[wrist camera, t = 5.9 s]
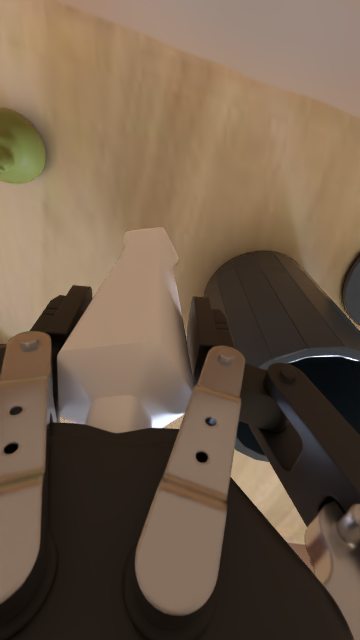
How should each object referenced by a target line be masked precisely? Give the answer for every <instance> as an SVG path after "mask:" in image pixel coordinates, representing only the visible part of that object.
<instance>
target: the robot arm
mask: <svg viewBox="0 0 360 640" xmlns="http://www.w3.org/2000/svg"><path fill="white" fill-rule="evenodd" d="M91 301H92V289H91V287H87V286H76V285H73V286H72V287H71V289H70V291H69V292H68V294H67V295H66V296H63V295H59V296H58V297H56V298H54V299H53V300H51V301H50V302H49V304H48V305H47V307H46V309H45V310H44V311H43V313H42V315H40V317H39V318H38V320H37V321H36V323H35V324H34V326H33V327H32V329H31V330H30V331H28V332H23V333H20V334H18V335H16V336H14V337H13V338H11V339H10V340H9V341H8V343H7V346H6V345H0V640H360V435H359V434H358V433H357V432H356V431H355V430H354V428H353V427H352V426H351V425H350V424H349V423H348V422H347V421H346V420H345V418H344V417H343V416H342V415H341V414H340V413H339V412H338V411H337V410H336V409H335V407H334V406H333V405H332V404H331V403H330V402H329V401H328V400H327V399H326V397H325V396H324V395H323V394H322V393H321V392H320V391H319V390H318V389H317V387H316V386H315V385H314V384H313V383H312V382H311V381H310V380H309V379H308V378H307V376H306V375H305V374H304V373H303V372H302V371H301V370H299V369H298V368H296V367H294V366H292V365H290V364H287V363H274V364H271V365H270V366H269V367H268V370H264V369H261V368H257V367H254V366H251V365H249V364H247V363H246V362H245V358H244V356H243V355H242V354H241V353H240V352H239V351H238V350H236V349H235V347H234V343H233V340H232V336H231V333H230V330H229V325H228V322H227V318H226V316H225V315H224V314H223V313H222V312H221V311H220V310H219V309H212V308H211V304H210V299H209V298H205V297H194V296H193V298H192V303H191V309H190V315H189V321H188V329H187V344H188V352H189V358H190V363H191V369H192V374H193V380H194V385H195V386H194V389H193V392H192V395H191V398H190V400H189V403H188V406H187V409H186V412H185V415H184V418H183V420H182V423H181V426H180V429H166V428H146V429H140V430H135V431H129V432H123V433H113V432H109V431H106V430H102V429H99V428H96V427H92V426H89V425H85V424H73V423H60V412H59V404H58V375H57V355H58V353H59V351H60V350H61V348H62V347H63V345H64V344H65V342H66V340H67V339H68V337H69V336H70V334H71V333H72V331H73V329H74V328H75V326H76V325H77V323H78V321H79V320H80V318H81V317H82V315H83V314H84V312H85V310H86V309H87V307H88V306H89V304H90V303H91ZM238 421H241V422H244V423H247V424H249V427H250V429H251V431H252V433H253V434H254V436H255V438H256V440H257V441H258V443H259V445H260V447H261V448H262V450H263V452H264V453H265V455H266V457H267V459H268V460H269V462H270V464H271V466H272V467H273V469H274V471H275V472H276V474H277V476H278V478H279V479H280V481H281V483H282V485H283V486H284V488H285V490H286V492H287V493H288V495H289V497H290V498H291V500H292V502H293V504H294V505H295V507H296V509H297V511H298V512H299V514H300V516H301V517H302V519H303V521H304V523H305V524H306V526H307V529H306V531H305V546H306V549H307V552H308V555H309V557H310V563H311V565H312V567H313V569H314V574H313V572H312V571H311V570H310V569H309V568H308V567H307V565H306V564H305V563H304V562H303V561H302V560H301V559H300V557H299V556H298V555H297V554H296V553H295V552H294V550H293V549H292V548H291V547H290V546H289V545H288V543H287V542H286V541H285V540H284V539H283V537H282V536H281V535H280V534H279V533H278V532H277V530H276V529H275V528H274V527H273V526H272V525H271V523H270V522H269V521H268V520H267V519H266V518H265V517H264V515H263V514H262V513H261V512H260V511H259V510H258V508H257V507H256V506H255V505H254V504H253V503H252V501H251V500H250V499H249V498H248V497H247V496H246V494H245V493H244V492H243V491H242V490H241V489H240V487H239V486H238V485H237V484H236V483H235V482H234V480H233V479H232V478H231V477H230V475H231V468H232V462H233V455H234V448H235V441H236V435H237V428H238ZM291 424H292V425H291ZM293 427H294V428H295V429H294V428H293ZM296 431H297V432H298V433H297V432H296ZM298 434H299V435H300V436H299V435H298Z"/></svg>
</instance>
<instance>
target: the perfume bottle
mask: <svg viewBox="0 0 360 640" xmlns="http://www.w3.org/2000/svg"><path fill="white" fill-rule="evenodd" d="M178 261H179V257H178V255H177V253H176V251H175V249H174V247H173V245H172V243H171V241H170V239H169V237H168V235H167V232H166V230H165V229H164V228H163V227H155V228H147V229H139V230H131V231H126V232H125V235H124V243H123V252H122V254H121V255H120V257H119V258H118V260H117V262H116V263H115V265H114V266H113V268H112V269H111V271H110V273H109V274H108V276H107V277H106V279H105V281H104V282H103V284H102V285H101V287H100V288H99V290H98V292H97V293H96V295H95V296H94V298H93V299H92V301H91V303H90V304H89V306H88V307H87V309H86V310H85V312H84V314H83V315H82V317H81V318H80V320H79V321H78V323H77V325H76V326H75V328H74V329H73V331H72V333H71V334H70V336H69V337H68V339H67V340H66V342H65V344H64V345H63V347H62V348H61V350H60V351H59V353H58V355H57V375H58V404H59V412H60V417H61V418H62V419H65V420H67V421H70V422H74V423H77V424H85V425H89V426H92V427H96V428H99V429H102V430H106V431H109V432H113V433H123V432H129V431H135V430H140V429H146V428H163V427H164V426H166V425H167V424H169V423H171V422H172V421H174V420H175V419H177V418H179V417H180V416H182V415H183V414H185V412H186V409H187V406H188V403H189V400H190V398H191V395H192V392H193V389H194V386H195V385H194V380H193V374H192V369H191V363H190V358H189V352H188V346H187V341H186V335H185V330H184V324H183V319H182V313H181V308H180V302H179V297H178V291H177V286H176V280H175V274H174V269H173V268H174V267H175V265H176V264H177V262H178Z"/></svg>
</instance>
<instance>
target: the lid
mask: <svg viewBox="0 0 360 640" xmlns="http://www.w3.org/2000/svg"><path fill="white" fill-rule="evenodd" d="M343 303H344V307H345V309H346V312H347V313H348V315H349V316H350V317H351V319H352V320H353V321H354V322H355V323H357V324H358V325H360V257H359V258H358V259H357V261H356V262H355V263H354V265H353V266H352V268H351V270H350V272H349V273H348V276H347V278H346V281H345V284H344V289H343Z"/></svg>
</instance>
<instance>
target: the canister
mask: <svg viewBox="0 0 360 640" xmlns="http://www.w3.org/2000/svg"><path fill="white" fill-rule="evenodd" d="M204 297H205V298H209V299H210V304H211V308H212V309H219V310H220V311H221V312H222V313H223V314H224V315H225V316H226V318H227V322H228V325H229V330H230V333H231V336H232V340H233V343H234V347H235V349H236V350H238V351H239V352H240V353H241V354H242V355H243V356H244V358H245V362H246V363H247V364H249V365H251V366H254V367H257V368H261V369H264V370H268V367H269V366H270V365H271V364H274V363H287V364H290V365H292V366H294V367H296V368H298V369H299V370H301V371H302V372H303V373H304V374H305V375H306V376H307V378H308V379H309V380H310V381H311V382H312V383H313V384H314V385H315V386H316V387H317V389H318V390H319V391H320V392H321V393H322V394H323V395H324V396H325V397H326V399H327V400H328V401H329V402H330V403H331V404H332V405H333V406H334V407H335V409H336V410H337V411H338V412H339V413H340V414H341V415H342V416H343V417H344V418H345V420H346V421H347V422H348V423H349V424H350V425H351V426H352V427H353V428H354V430H355V431H356V432H357V433H358V434H359V435H360V331H359V330H358V329H357V328H356V327H355V325H354V324H353V323H352V322H351V321H350V320H349V319H348V318H347V317H346V315H345V314H344V313H343V312H342V311H341V310H340V309H339V308H338V306H337V305H336V304H335V303H334V302H333V301H332V300H331V299H330V298H329V296H328V295H327V294H326V293H325V292H324V291H323V290H322V289H321V287H320V286H319V285H318V284H317V283H316V282H315V281H314V280H313V279H312V277H311V276H310V275H309V274H308V273H307V272H306V271H305V270H304V269H303V268H302V267H301V266H300V265H299V264H298V263H297V262H296V261H294V260H293V259H292V258H290V257H288V256H286V255H284V254H281V253H278V252H273V251H254V252H249V253H246V254H242V255H240V256H238V257H235V258H233V259H232V260H230V261H228V262H227V263H226V264H224V265H223V266H222V267H221V268H220V269H219V270H218V271H217V272H216V273H215V274H214V275H213V276H212V278H211V279H210V281H209V283H208V285H207V287H206V290H205V293H204ZM291 425H292V424H291ZM293 428H294V427H293ZM294 429H295V428H294ZM296 432H297V431H296ZM297 433H298V432H297ZM298 435H299V434H298ZM299 436H300V435H299ZM235 449H236V450H237V451H239V452H241V453H243V454H245V455H247V456H249V457H251V458H253V459H255V460H261V461H266V462H269V460H268V459H267V457H266V455H265V453H264V452H263V450H262V448H261V447H260V445H259V443H258V441H257V440H256V438H255V436H254V434H253V433H252V431H251V429H250V427H249V424H247V423H244V422H241V421H238V428H237V435H236V441H235Z"/></svg>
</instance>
